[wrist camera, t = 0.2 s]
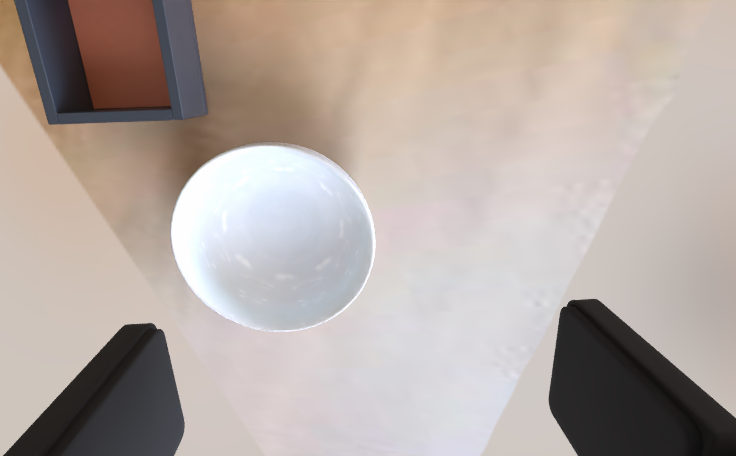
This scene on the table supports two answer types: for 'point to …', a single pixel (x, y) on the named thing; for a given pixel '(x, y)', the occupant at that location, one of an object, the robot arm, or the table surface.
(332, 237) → the cereal bowl
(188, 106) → the caddy
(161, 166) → the table surface
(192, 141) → the table surface
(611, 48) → the table surface
